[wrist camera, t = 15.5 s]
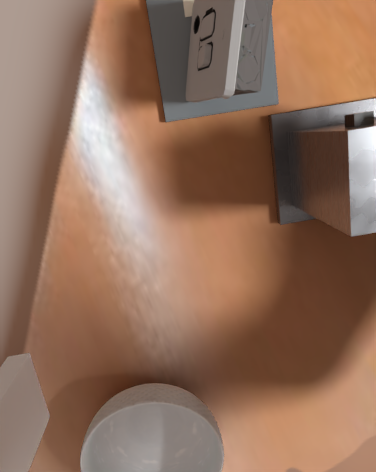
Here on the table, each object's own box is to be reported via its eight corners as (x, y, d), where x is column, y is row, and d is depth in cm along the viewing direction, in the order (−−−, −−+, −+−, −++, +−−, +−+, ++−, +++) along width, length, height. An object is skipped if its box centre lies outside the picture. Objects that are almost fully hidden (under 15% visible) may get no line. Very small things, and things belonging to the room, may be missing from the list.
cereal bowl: (118, 345, 45) (111, 383, 38) (236, 386, 48) (249, 428, 41) (72, 448, 48) (57, 499, 42) (184, 481, 51) (187, 533, 44)
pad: (266, -25, 35) (268, -28, 34) (276, 104, 38) (278, 103, 38) (144, -7, 35) (144, -10, 34) (165, 122, 38) (165, 122, 37)
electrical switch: (192, -2, 34) (216, -45, 26) (243, 7, 35) (283, -32, 27) (184, 102, 37) (202, 94, 28) (231, 107, 38) (264, 102, 29)
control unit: (394, 95, 39) (518, 73, 25) (394, 202, 42) (503, 234, 29) (268, 115, 39) (326, 104, 25) (277, 222, 42) (333, 263, 28)
